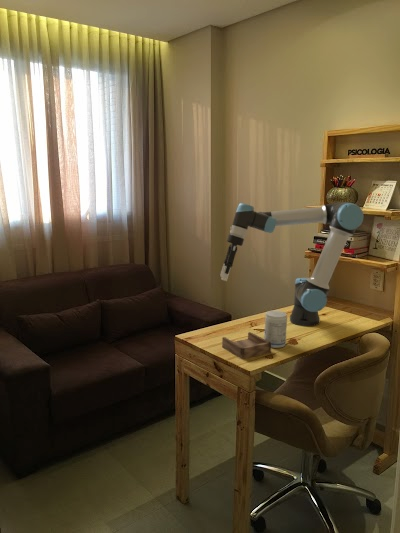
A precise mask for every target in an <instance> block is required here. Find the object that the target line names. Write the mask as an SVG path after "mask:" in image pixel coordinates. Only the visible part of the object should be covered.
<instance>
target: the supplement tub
mask: <svg viewBox="0 0 400 533" xmlns="http://www.w3.org/2000/svg"><path fill="white" fill-rule="evenodd" d="M287 323H288V314H287V313H286V312H285V311H282V310H276V309H275V310H274V309H273V310H268V311H266V312H265V320H264V337H263V339H265V340H267V341H269V342H271V349H272V348H273V349H280V348H283V347H285V346H286V343H287V342H286V341H287V340H286V339H287V327H288V326H287V325H288V324H287Z"/></svg>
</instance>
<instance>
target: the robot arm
mask: <svg viewBox="0 0 400 533" xmlns="http://www.w3.org/2000/svg"><path fill="white" fill-rule="evenodd" d="M254 209H255V207H254V206H252V205H250V204H247V203H243V202H240V203H239V204H238V206H237V208H236V211H235V213H234V217H233V220H232V223H231V224H232V225H231V226H230V227H229V229H230V230H229V235H228V236H227V240H226V242H227V243H229V246H228V248H227V252H226V255H225V257H224V260H223V265H222V268H221V271H220V275H219V277H220V278H221V279H220V280H222V281H223V282H224V281H225V282H228V278H229V275H230V272H231V270H232V267H233V266H234V265H233V263H234V260H235V258H236V254H237V251H238V246H239V247H243V243H244V241H245V237H246V236H247V231H248V229H249V228H253V229H256V230H260V231H262V232H264V233H269V234H272V233H273V232H274V230H275V228H276V227H282V226H284V227H285V226H293V225H308V224H318V223H319V224H321V223H322V224H323V225H329V230H330V231H329V234H328V236H327V239H326V241H325V244H324V246H323V248H322V250H321V253H320V256H319V257H318V260H317V262H316V265H315V267H314V269H313V271H312V274H311V276H310V277H298V278H296V279H295V281H294V282H295V283H294V295H293V296H294V298H293V299H294V301H293V308H292V310H291V314H290V316H289V321H290V323H292V324H294V325H298V326H305V327H312V326H317V325H319V324H320V323H321V322H320V320H321V318H320V316H319V312H320V311H322V310H323V309H324V308H325V307H326V305H327V303H328V302H327V301H328V297H327V296H328V294H329V290H330V285H329V282H330V280H331V278H332V276H333V273H334V272H335V268H336V267H337V264H338V262H339V260H340V257H341V255H342V253H343V251H344V248H345V246H346V243H347V242H348V239H349V238H350V237H352V236H354V234H355V233H356V229H359V228H360V226H361V225H362V223H363V221H364V212H363V209H362V208H361V207H360V206H359V205H357V203H352V202H346V201H339V202H334V203H329V204H328V203H327V204H322V205H321V206H319V207H318V206H317V207H307V208H306V207H305V208H296V209H295V208H294V209H287V210H286V209H285V210H274V211H258V212H256V211H255V210H254ZM358 227H359V228H358Z"/></svg>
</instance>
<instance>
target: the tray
mask: <svg viewBox="0 0 400 533" xmlns="http://www.w3.org/2000/svg"><path fill="white" fill-rule="evenodd" d="M221 338H222V341H221V342H222V344H221V347H222V348H223V349H224V350H226V351H228V352H229V353H231V354H233V355H234V356H236V357H237V358H239V359H241V360H244V359H248V358H252V357H253V358H254V357H257V356H261V355H266V354H269V353H270V354H271V352H272V351H271V350H272V347H271V342H269V341H267V340H265V339H264V337H261V336H259V335H257V334H255V333H253V332H250V331H249V332H248V333H247V338H245V339H240V340H236V341H235V340H234V341H233V340H231V339H229V338H227V337H224V336H223V337H221Z"/></svg>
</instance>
